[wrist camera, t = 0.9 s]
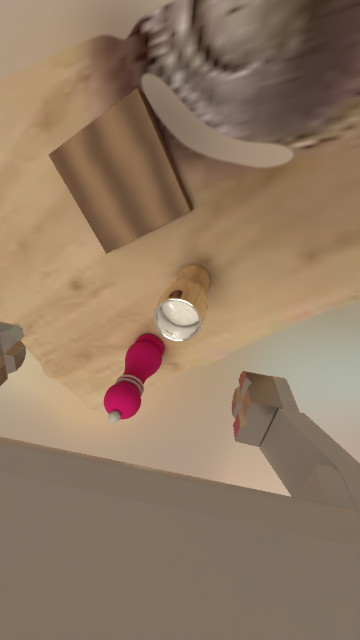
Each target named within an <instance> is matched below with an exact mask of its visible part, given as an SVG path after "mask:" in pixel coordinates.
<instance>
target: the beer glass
mask: <svg viewBox="0 0 360 640" xmlns="http://www.w3.org/2000/svg"><path fill="white" fill-rule="evenodd" d="M209 286H210V277H209V275H208V273H207V271H206V270H205V269H204V268H202V267H200V266H198V265H188V266H185V267H184V268H182V269H181V270H180V271H179V273H178V275H177V280H176V281H175V282H174V283H172V284H171V285H170V286H169V287H168V288H167V289H166V290H165V291H164V293H163V294H162V296H161V298H160V300H159V302H158V304H157V307H156V309H155V311H154V315H153V320H154V324H155V327H156V329H157V330H158V331H159V333H160V334H161V335H163V336H164V337H166V338H167V339H170V340H172V341H178V342H182V341H188V340H190V339H192V338H194V337H195V336H196V335H197V334H198V333H199V331H200V329H201V325H202V323H203V321H204V318H205V314H206V310H207V296H206V291H207V290H208V288H209Z"/></svg>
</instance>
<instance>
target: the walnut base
mask: <svg viewBox="0 0 360 640" xmlns="http://www.w3.org/2000/svg"><path fill="white" fill-rule="evenodd" d="M49 157H50V158H51V160H52V162H53V163H54V165H55V167H56V169H57V170H58V172H59V174H60V175H61V177H62V179H63V180H64V182H65V184H66V186H67V187H68V189H69V191H70V192H71V194H72V196H73V197H74V199H75V201H76V203H77V204H78V206H79V208H80V209H81V211H82V213H83V215H84V216H85V218H86V220H87V221H88V223H89V225H90V226H91V228H92V230H93V232H94V233H95V235H96V237H97V238H98V240H99V242H100V243H101V245H102V247H103V249H104V250H105V252H106V254H107V253H108V252H110V251H112V250H114V249H116V248H118V247H120V246H122V245H124V244H126V243H128V242H130V241H132V240H134V239H136V238H138V237H140V236H142V235H144V234H146V233H148V232H150V231H152V230H154V229H156V228H158V227H160V226H162V225H164V224H166V223H168V222H170V221H172V220H174V219H176V218H178V217H180V216H182V215H184V214H186V213H188V212H190V211H191V210H192V209H193V208H192V205H191V203H190V201H189V198H188V196H187V193H186V191H185V189H184V186H183V184H182V182H181V179H180V177H179V175H178V172H177V170H176V168H175V165H174V163H173V160H172V158H171V156H170V153H169V151H168V149H167V146H166V144H165V142H164V139H163V137H162V134H161V132H160V130H159V127H158V125H157V123H156V120H155V118H154V116H153V113H152V111H151V109H150V106H149V104H148V101H147V99H146V97H145V94H144V93H143V92H141V91H140V90H139V89H138V88H136V89H135V90H133V91H132V92H131V93H130V94H128V95H127V96H126V97H124V98H123V99H122V100H120V101H119V102H118V103H116V104H115V105H114V106H112V107H111V108H110V109H108V110H107V111H106V112H104V113H103V114H102V115H101V116H99V117H98V118H97V119H95V120H94V121H93V122H91V123H90V124H89V125H87V126H86V127H85V128H83V129H82V130H81V131H79V132H78V133H77V134H76V135H74V136H73V137H72V138H70V139H69V140H68V141H66V142H65V143H64V144H62V145H61V146H60V147H58V148H57V149H56V150H54V151H53V152H52V153H50V154H49Z"/></svg>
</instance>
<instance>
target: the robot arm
mask: <svg viewBox="0 0 360 640" xmlns="http://www.w3.org/2000/svg"><path fill="white" fill-rule="evenodd" d="M23 337H24V334H23V329H22V328H21V327H20V326H18V325H13V324H9V323H4V322H0V386H1V385H2V384H3V383H4V382H5V381H6V380H7V379H8V374H9V373H12V372H14V371H17V369H18V368H19V367H20V366H21V365H22V363H23V361H24V359H25V355H26V349H25V346H24V344H23V343H22V342H21V339H22V338H23ZM239 384H240V386H239V387H238V388H236V389H235V392H234V395H233V401H232V415H233V416H234V417H235V419H236V420H235V422H234V425H233V427H234V437H235V441H236V442H240V443H245V444H249V445H253V446H258V447H260V450H261V451H262V453H263V454H264V456H265V457H266V459H267V460H268V462H269V463H270V465H271V466H272V468H273V469H274V471H275V472H276V473H277V475H278V477H279V478H280V480H281V481H282V482H283V484H284V486H285V487H286V489H287V490H288V492H289V493H290V494H291V496H292V497H289V496H285V495H280V494H275V493H270V492H265V491H260V490H256V489H250V488H246V487H241V486H236V485H231V484H226V483H221V482H217V481H211V480H207V479H202V478H197V477H192V476H188V475H183V474H178V473H173V472H168V471H164V470H158V469H153V468H149V467H144V466H139V465H134V464H129V463H125V462H120V461H115V460H110V459H105V458H100V457H96V456H90V455H86V454H81V453H76V452H71V451H66V450H61V449H57V448H52V447H47V446H42V445H37V444H32V443H28V442H23V441H18V440H13V439H8V438H4V437H0V640H360V463H359V462H358V461H356V460H355V459H354V458H353V457H352V456H351V455H350V454H349V453H348V452H346V451H345V450H344V449H343V448H342V447H341V446H340V445H339V444H338V443H336V442H335V441H334V440H333V439H332V438H331V437H330V436H329V435H328V434H326V433H325V432H324V431H323V430H322V429H321V428H320V427H319V426H318V425H316V424H315V423H314V422H313V421H312V420H311V419H310V418H309V417H308V416H306V415H305V414H304V413H300V412H299V409H298V407H297V404H296V402H295V400H294V397H293V395H292V392H291V390H290V387H289V384H288V382H287V380H286V379H285V378H280V377H275V376H267V375H261V374H256V373H251V372H246V371H243V372H242V373H241V375H240V378H239Z"/></svg>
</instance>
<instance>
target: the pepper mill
mask: <svg viewBox="0 0 360 640" xmlns="http://www.w3.org/2000/svg"><path fill="white" fill-rule="evenodd" d="M163 351H164V345H163V343H162V341H161V340H160V339H159V338H158V337H156V336H154V335H151V334H144V335H141V336H140V337H139V338H138V339H137V341H136V342H135V343H134V344H133V345H132V346H130V348H129V349H128V351H127V353H126V357H125V372H124V374H123V375H122V376H120V377H119V378H118V379H117V381H116V383H115V385H113V386H111V387H110V388H109V389H108V390H107V392H106V394H105V397H104V406H105V409H106V411H107V412H108V413H109V420H110V421H111V422H112V423H116V422H118V421H119V420H120V419H127V418H130V417H132V416H133V415H135V414H136V412H137V411H138V410H139V408H140V405H141V395H142V393H143V391H144V386H143V384H144V382H145V381H146V379H147V378H148V377H150V376H151V375H153V374H154V373H155V372H156V371H157V370H158V369H159V367H160V365H161V362H162V357H161V356H162V354H163Z"/></svg>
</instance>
